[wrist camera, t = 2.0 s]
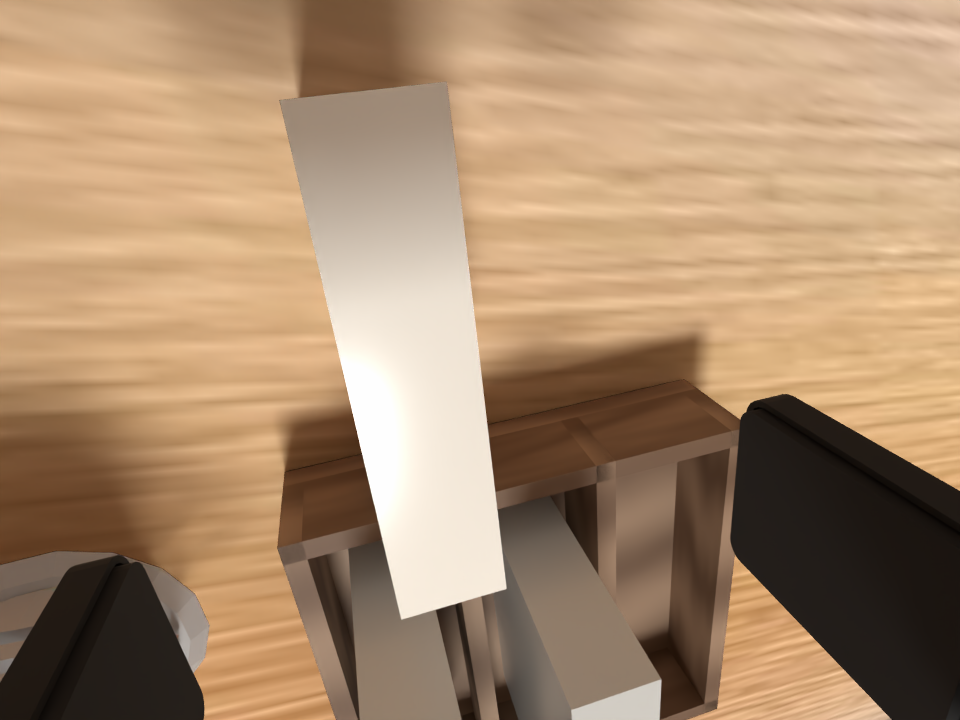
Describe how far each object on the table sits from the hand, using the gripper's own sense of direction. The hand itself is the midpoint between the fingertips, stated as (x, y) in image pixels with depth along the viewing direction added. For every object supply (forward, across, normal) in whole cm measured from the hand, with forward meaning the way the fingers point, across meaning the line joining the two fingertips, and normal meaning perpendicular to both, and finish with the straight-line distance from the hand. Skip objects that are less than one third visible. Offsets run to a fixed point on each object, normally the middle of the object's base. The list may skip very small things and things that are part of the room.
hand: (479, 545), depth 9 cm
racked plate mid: (+14, -4, +15) cm, 21 cm away
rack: (+14, -4, +15) cm, 21 cm away
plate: (+14, 0, -1) cm, 14 cm away
